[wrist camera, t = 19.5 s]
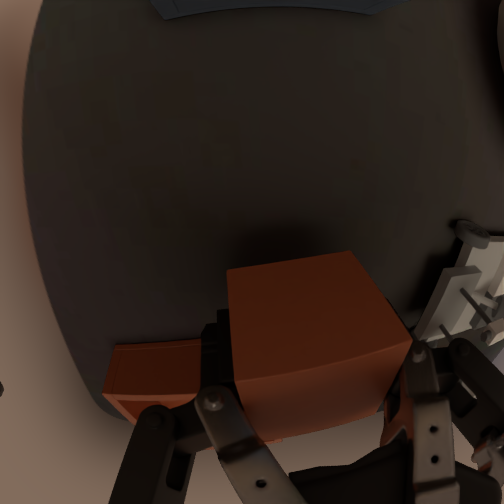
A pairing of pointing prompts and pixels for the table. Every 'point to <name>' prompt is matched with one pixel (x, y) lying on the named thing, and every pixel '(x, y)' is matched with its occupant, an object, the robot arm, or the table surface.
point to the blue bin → (267, 5)
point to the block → (311, 343)
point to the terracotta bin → (154, 376)
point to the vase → (501, 33)
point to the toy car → (468, 291)
